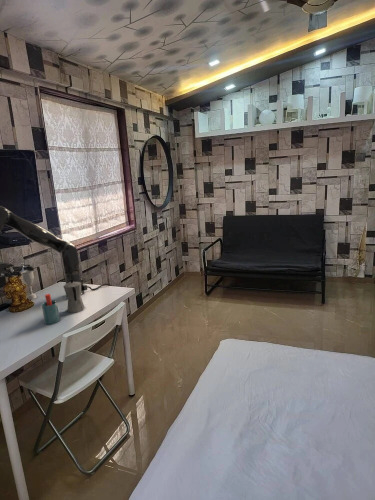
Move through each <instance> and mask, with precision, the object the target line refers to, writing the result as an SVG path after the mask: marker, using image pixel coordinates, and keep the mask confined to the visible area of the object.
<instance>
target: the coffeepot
mask: <svg viewBox="0 0 375 500" xmlns="http://www.w3.org/2000/svg"><path fill="white" fill-rule="evenodd" d="M70 281H71V282H69V283H67V284H66V283H65V284H64V285H63V289H64V292H65V295H66V298H67V312H68V313H70V314H76V313H80V312H82V311H84V309H85V304H84V301H83V299H82V297H81V296H82V295H81V283H80V282H73V279H71V280H70Z"/></svg>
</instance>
